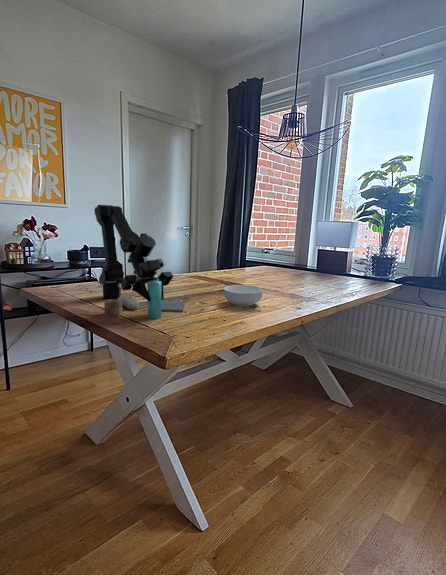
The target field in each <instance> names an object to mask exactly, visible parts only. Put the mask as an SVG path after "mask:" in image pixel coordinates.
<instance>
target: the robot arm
mask: <svg viewBox="0 0 446 575" xmlns="http://www.w3.org/2000/svg"><path fill="white" fill-rule="evenodd" d="M93 212H94V215H95V219H96V221H97V223H98V224H99V225H100V227H101V234H102V243H103V252H104V263H103V264H102V267H101V273H100V275H99V278H98V280H99V281H98V282H99V285H101V286H102V297H101V300H103V299H104V300H108V299H114V300H119V298H120V297H121V296H122V291H130V290H131V291H132V292H136V294H138V295H139V296H141V297H142V298H144V299H145V300H146V301H147V302H148V301H149V302H150V301H151V298H150V295H149V293H148V288H147V287H146V284H148V281H150V280H159V281H162V289H161V301H164V298H165V296H164V294H165V293H164V286H168V285H169V284H170V283H171V281H172V280H173V278H174V275H173V273H172V271H163V272H160V274H159V275H158V276H156V275H157V273H158V270H161V268H163V267H164V265H165V263H164V261H163V259H162V258H157V259H151V260H150V259H149V260H148V258H147V257H149V256H150V255H151V253H152V251H153V250H154V248H155V246H156V245H157V243H156V240H155V239H154V238H153V237H152V236H150V235H148V234H147V233H144V232H143V233H142V232H141V234H140V235H138V234H137V233H136V232H135V231H133V230H132V229H131V225H130V224H129V222H128V221H127V219H126V217H125V215H124V212H123V208H122V207H121V206H119V205H117V206H116V205H113V204H112V205H109V204H98V205H97V206H96V207H95V208H94V211H93ZM114 227H115V228H114ZM115 229H116V230H117V233H118V235H119V237H120V240H119V245H120V249H121V250H122V252H123V253H125V254H126V253H130V254H129V255H128V259H127V262H128V263H129V264H130V263H131V265H132V268H133V274H127V275H125V272H124V268H123V266H124V265H123V263H120V262H119V260H118V254H117V245H116V236H115Z"/></svg>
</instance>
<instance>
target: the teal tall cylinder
mask: <svg viewBox="0 0 446 575" xmlns="http://www.w3.org/2000/svg"><path fill="white" fill-rule="evenodd" d="M161 289H162V281H159V280H150V281H148V283H147V291H148V293H149V295H150V298H151V301H150V302H149V301H148V300H147V318H148V319H151V320H159V319H161V318H162V311H161V301H162V299H161Z"/></svg>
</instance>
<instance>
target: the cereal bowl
mask: <svg viewBox="0 0 446 575" xmlns="http://www.w3.org/2000/svg"><path fill="white" fill-rule="evenodd" d="M223 295H224V298H225V300H226V301H227V302H229V303H230V304H233V305H234V306H236V307H242V308H244V307H245V308H247V307H251V306H252V305H255V304H258V303H259V302H260V301H261V300H262V298H263V295H264V290H263V288H262V287H259V286H256V285H249V284H247V285H246V284H237V285H236V284H233V285H227V286H225V287H224V288H223Z"/></svg>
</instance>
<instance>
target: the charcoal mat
mask: <svg viewBox="0 0 446 575" xmlns="http://www.w3.org/2000/svg"><path fill="white" fill-rule="evenodd" d="M185 306H186V301H178V300H177V301H176V300H175V301H174V300H173V301H172V300H161V312H170V313H172V312H173V313H174V312H179V313H183V312H184V309H185Z"/></svg>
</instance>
